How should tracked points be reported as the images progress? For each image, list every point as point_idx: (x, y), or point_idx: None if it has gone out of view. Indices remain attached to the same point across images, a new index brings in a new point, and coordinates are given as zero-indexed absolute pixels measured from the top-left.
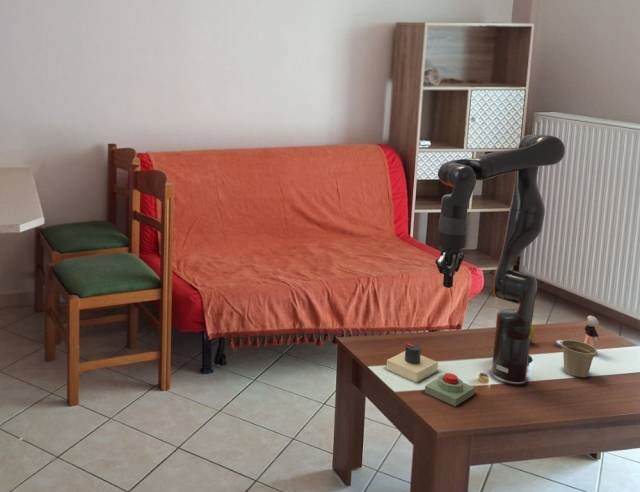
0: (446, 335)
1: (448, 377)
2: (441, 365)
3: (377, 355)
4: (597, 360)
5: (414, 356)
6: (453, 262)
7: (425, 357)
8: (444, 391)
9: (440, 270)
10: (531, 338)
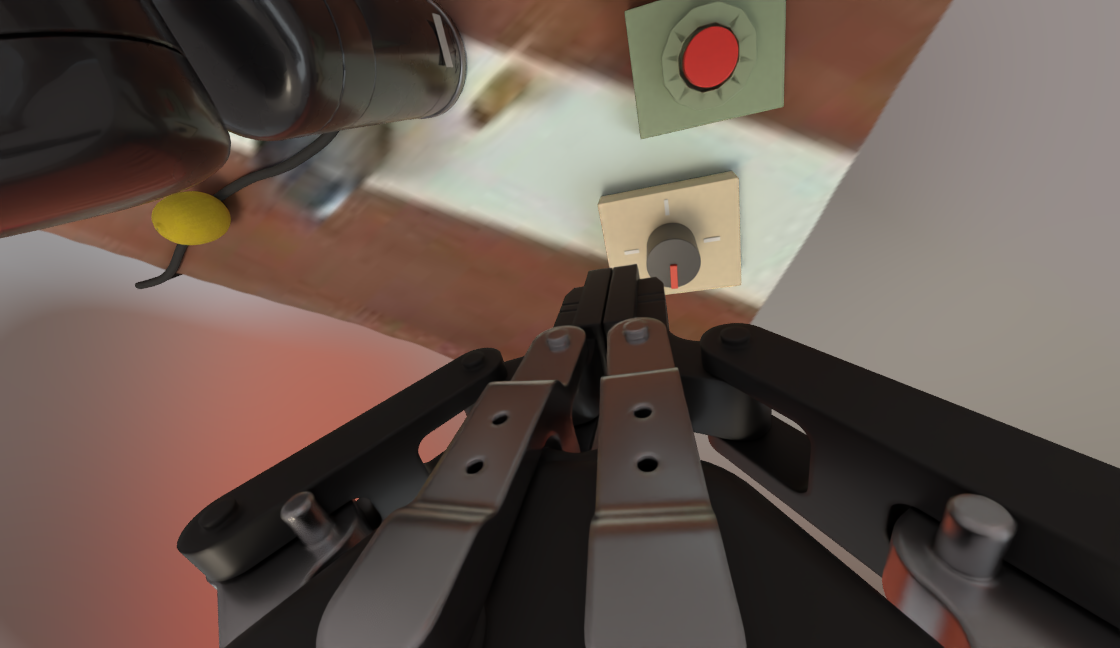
0: (406, 325)
1: (731, 52)
2: (556, 216)
3: (680, 335)
4: None
5: (690, 236)
6: (638, 463)
7: (609, 243)
8: (764, 35)
9: (798, 438)
10: (195, 191)
